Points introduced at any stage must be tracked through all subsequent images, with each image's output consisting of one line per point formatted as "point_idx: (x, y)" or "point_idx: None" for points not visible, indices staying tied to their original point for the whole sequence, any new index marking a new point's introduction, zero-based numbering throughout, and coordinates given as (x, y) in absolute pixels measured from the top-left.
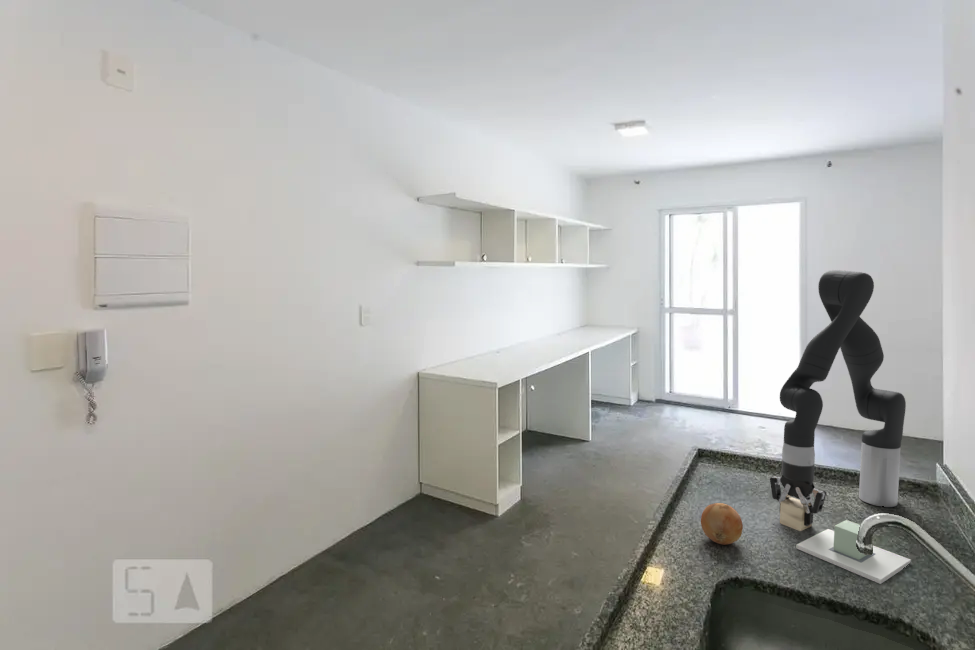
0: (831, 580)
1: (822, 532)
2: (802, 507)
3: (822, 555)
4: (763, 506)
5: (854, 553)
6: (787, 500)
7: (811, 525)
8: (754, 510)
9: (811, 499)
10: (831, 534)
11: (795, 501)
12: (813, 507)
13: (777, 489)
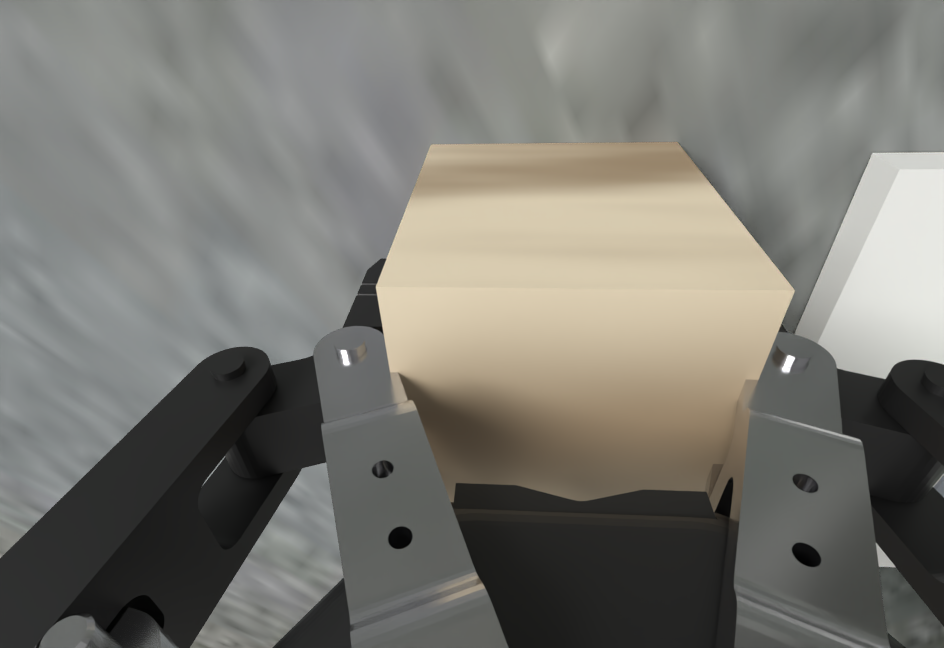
0: (927, 632)
1: (847, 303)
2: (690, 487)
3: (884, 566)
4: (66, 112)
5: None
6: (429, 435)
7: (677, 148)
8: (152, 283)
9: (854, 476)
10: (942, 275)
11: (520, 388)
12: (881, 535)
13: (213, 546)
